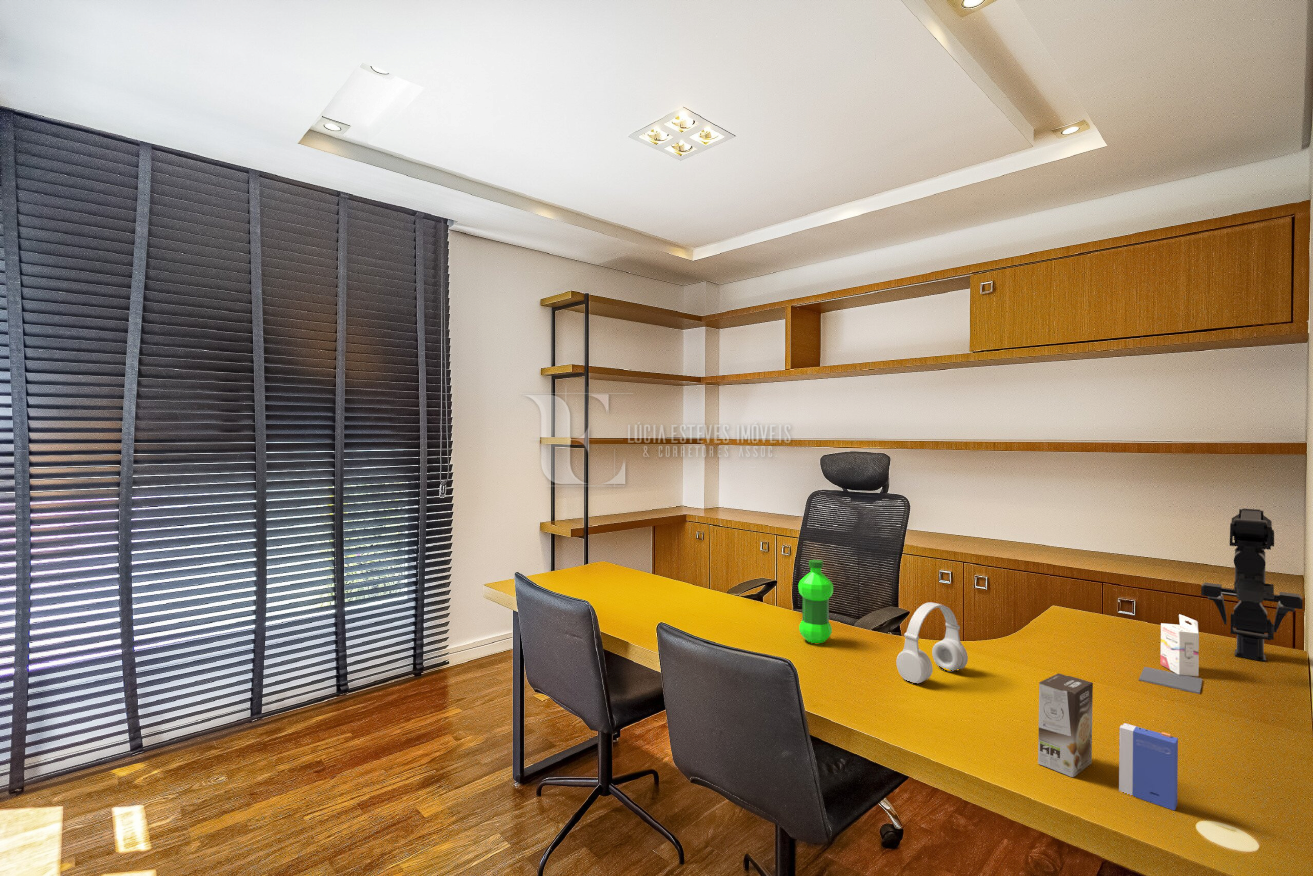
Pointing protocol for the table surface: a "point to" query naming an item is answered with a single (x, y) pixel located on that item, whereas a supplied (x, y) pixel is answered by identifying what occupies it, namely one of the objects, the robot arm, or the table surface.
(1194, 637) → the ink cartridge box
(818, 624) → the plastic bottle
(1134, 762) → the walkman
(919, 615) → the headphones
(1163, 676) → the mat
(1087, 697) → the coffee box
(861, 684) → the table surface
